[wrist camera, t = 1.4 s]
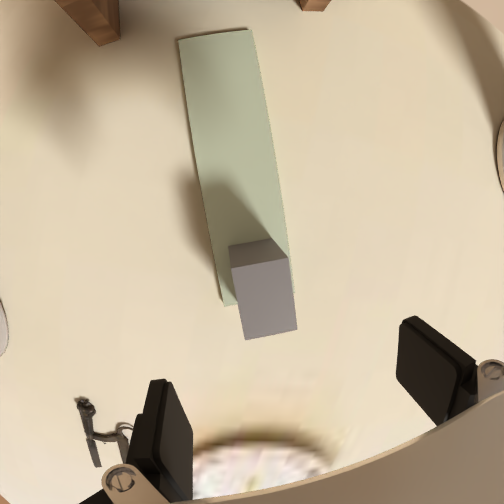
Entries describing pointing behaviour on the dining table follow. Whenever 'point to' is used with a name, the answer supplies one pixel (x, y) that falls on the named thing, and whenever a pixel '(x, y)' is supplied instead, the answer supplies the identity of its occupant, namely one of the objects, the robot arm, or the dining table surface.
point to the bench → (107, 16)
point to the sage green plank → (239, 179)
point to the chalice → (3, 331)
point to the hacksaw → (86, 414)
